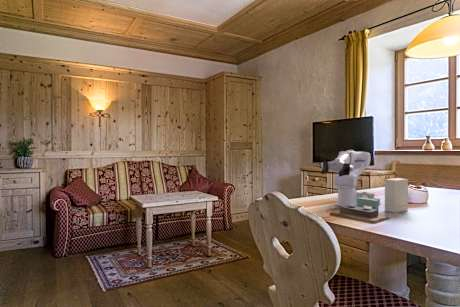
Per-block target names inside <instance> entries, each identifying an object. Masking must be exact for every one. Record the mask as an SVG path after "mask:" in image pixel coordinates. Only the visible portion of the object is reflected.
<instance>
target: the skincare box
mask: <svg viewBox="0 0 460 307" xmlns="http://www.w3.org/2000/svg"><path fill="white" fill-rule="evenodd" d="M408 189H409V179H407V178H401V177H395V178H394V177H392V178H385V179H384V211H385V212H390V213H393V214H394V213H395V214H396V213H401V212H408V210H409V209H408V207H409V203H408V202H409V200H408V199H409V196H408V195H409V192H408Z"/></svg>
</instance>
